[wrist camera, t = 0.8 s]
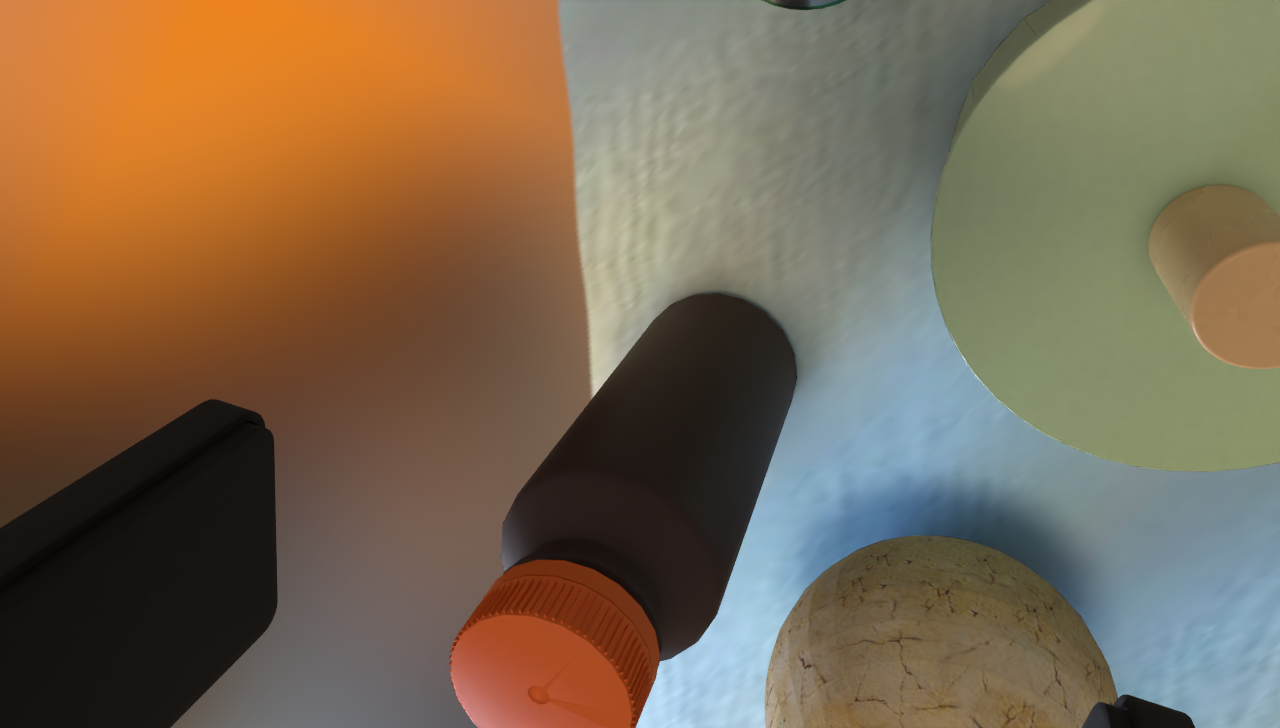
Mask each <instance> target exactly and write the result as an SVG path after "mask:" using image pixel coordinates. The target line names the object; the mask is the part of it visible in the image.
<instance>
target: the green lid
mask: <svg viewBox="0 0 1280 728" xmlns="http://www.w3.org/2000/svg"><path fill="white" fill-rule="evenodd" d="M931 268H932V274H933V280H934V286H935V292H936V297H937V300H938V303H939V306H940V310H941V313H942V316H943V319H944V322H945V325H946V327H947V329H948V331H949V333H950V335H951V337H952V339H953V341H954V343H955V345H956V347H957V350H958V351H959V353H960V354H961V356H962V357H963V359H964V360H965V362H966V363H967V365H968V366H969V368H970V369H971V370H972V372H973V373H974V375H975V376H976V377H977V378H978V379H979V380H980V382H981V383H982V384H983V385H984V386H985V387H986V388H987V389H988V390H989V392H990V393H991V394H992V395H993V396H994V397H995V398H996V399H997V400H998V401H1000V402H1001V403H1002V404H1003V405H1004V406H1006V407H1007V408H1008V409H1009V410H1010V411H1011V412H1013V413H1014V414H1015V415H1016V416H1017V417H1019V418H1020V419H1022V420H1023V421H1025V422H1026V423H1028V424H1029V425H1031V426H1033V427H1034V428H1036V429H1037V430H1039V431H1040V432H1042V433H1043V434H1045V435H1047V436H1049V437H1051V438H1053V439H1055V440H1057V441H1059V442H1062V443H1064V444H1066V445H1068V446H1070V447H1072V448H1074V449H1077V450H1080V451H1083V452H1086V453H1088V454H1091V455H1094V456H1097V457H1100V458H1102V459H1106V460H1110V461H1115V462H1119V463H1123V464H1127V465H1132V466H1136V467H1144V468H1152V469H1159V470H1167V471H1196V472H1209V471H1222V470H1235V469H1245V468H1251V467H1257V466H1262V465H1268V464H1274V463H1279V462H1280V0H1086V1H1084V2H1083V3H1081V4H1080V5H1078V6H1077V7H1075V8H1074V9H1072V10H1071V11H1069V12H1068V13H1066V14H1065V15H1063V16H1062V17H1060V18H1059V19H1057V20H1056V21H1054V22H1053V23H1052V24H1051V25H1049V26H1048V27H1047V28H1046V29H1045V30H1043V31H1042V32H1041V33H1040V34H1039V35H1038V36H1036V37H1035V38H1034V39H1033V40H1032V41H1030V42H1029V43H1028V44H1027V45H1026V46H1024V47H1023V48H1022V49H1021V50H1020V51H1019V52H1018V53H1017V55H1016V56H1015V57H1014V58H1013V59H1012V60H1011V61H1010V62H1009V63H1008V64H1007V65H1006V66H1005V67H1004V68H1003V69H1002V70H1001V71H1000V73H999V74H998V75H997V76H996V77H995V78H994V80H993V81H992V82H991V84H990V85H989V86H988V88H987V89H986V90H985V92H984V93H983V94H982V96H981V97H980V98H979V100H978V101H977V102H976V104H975V105H974V107H973V108H972V110H971V112H970V114H969V115H968V117H967V119H966V121H965V122H964V124H963V126H962V128H961V129H960V131H959V133H958V135H957V137H956V139H955V141H954V143H953V146H952V148H951V151H950V153H949V156H948V158H947V161H946V163H945V165H944V168H943V171H942V175H941V179H940V182H939V186H938V190H937V194H936V198H935V202H934V211H933V219H932V227H931Z"/></svg>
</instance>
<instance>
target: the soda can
mask: <svg viewBox="0 0 1280 728" xmlns="http://www.w3.org/2000/svg"><path fill="white" fill-rule="evenodd" d="M762 1H765V2H767V3H770V4H772V5H774V6H778V7H783V8H787V9H795V10H812V9H821V8H825V7H829V6H833V5H836V4H839V3H841V2H844V1H846V0H762Z"/></svg>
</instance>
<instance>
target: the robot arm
mask: <svg viewBox="0 0 1280 728" xmlns="http://www.w3.org/2000/svg"><path fill="white" fill-rule="evenodd" d="M275 513H276V512H275V467H274V439H273V435H272V433H271V431H270V430H268V429H266V428H265V423H264V420H263V418H262V417H261V415H259V414H258V413H256V412H254V411H251V410H248V409H244V408H242V407H238V406H235V405H232V404H229V403H226V402H223V401H220V400H212V399H211V400H208V401H205V402H203V403H201V404H199V405H198V406H196V407H194V408H193V409H191V410H190V411H188V412H187V413H185V414H183V415H182V416H180V417H178V418H177V419H175V420H174V421H172V422H170V423H169V424H167V425H166V426H164V427H162V428H161V429H159V430H157V431H156V432H154V433H153V434H151V435H149V436H148V437H146V438H144V439H143V440H141V441H140V442H138V443H136V444H135V445H133V446H132V447H130V448H128V449H127V450H125V451H124V452H122V453H120V454H119V455H117V456H115V457H114V458H112V459H111V460H109V461H108V462H106V463H104V464H103V465H101V466H99V467H98V468H96V469H95V470H93V471H91V472H90V473H88V474H86V475H85V476H83V477H82V478H80V479H78V480H77V481H75V482H74V483H72V484H70V485H69V486H67V487H66V488H64V489H62V490H61V491H59V492H57V493H56V494H54V495H53V496H51V497H49V498H48V499H46V500H45V501H43V502H41V503H40V504H38V505H37V506H35V507H33V508H32V509H30V510H29V511H27V512H25V513H24V514H22V515H20V516H19V517H17V518H16V519H14V520H13V521H11V522H9V523H8V524H6V525H4V526H3V527H1V528H0V728H170V727H171V726H172V725H173V724H174V723H175V722H176V721H177V720H178V719H179V718H180V717H181V716H182V715H183V714H184V713H185V712H186V711H187V710H188V709H189V708H190V707H191V706H192V705H193V704H194V703H195V702H196V701H197V700H198V699H199V698H200V697H201V696H202V695H203V694H204V693H205V692H206V691H207V690H208V689H209V688H210V687H211V686H212V685H213V684H214V683H215V682H216V681H217V680H218V679H219V678H220V677H221V676H222V675H223V674H224V673H225V672H226V671H227V670H228V668H230V667H231V666H232V665H233V664H234V663H235V661H237V660H238V659H239V658H240V657H241V656H242V654H243V653H245V652H246V650H247V649H249V648H250V646H251V645H252V644H253V643H254V642H255V641H256V640H257V639H258V638H259V637H260V636H261V635H262V634H263V633H264V632H265V631H266V630H267V628H268V627H269V625H270V623H271V622H272V620H273V617H274V615H275V612H276V608H277V556H276V514H275ZM1082 728H1195V726H1194V724H1193V722H1192V720H1191V718H1190V717H1189V716H1188V715H1187V714H1185V713H1183V712H1180V711H1177V710H1173V709H1170V708H1167V707H1164V706H1161V705H1158V704H1155V703H1152V702H1149V701H1146V700H1143V699H1140V698H1136V697H1133V696H1130V695H1122V696H1120V697H1119V698H1118V699H1117V700H1116V701H1115V703H1114V704H1113V705H1110V704H1107V703H1104V702H1098V703H1097V704H1095V705H1094V707H1093V708H1092V710H1091V711H1090V713H1089V715H1088V717H1087V719H1086V721H1085V723H1084V724H1083V726H1082Z"/></svg>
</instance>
